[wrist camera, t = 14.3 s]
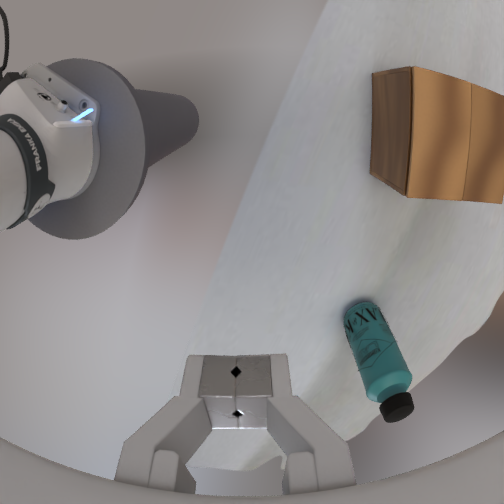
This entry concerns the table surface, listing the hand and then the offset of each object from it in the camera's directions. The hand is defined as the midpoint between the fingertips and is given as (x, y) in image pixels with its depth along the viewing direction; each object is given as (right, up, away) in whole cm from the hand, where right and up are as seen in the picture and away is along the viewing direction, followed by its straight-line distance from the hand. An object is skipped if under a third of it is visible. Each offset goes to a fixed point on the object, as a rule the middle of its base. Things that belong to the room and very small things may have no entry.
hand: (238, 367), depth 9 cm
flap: (+19, +15, +14) cm, 28 cm away
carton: (+23, +19, +23) cm, 38 cm away
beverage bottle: (+17, -6, +36) cm, 41 cm away
